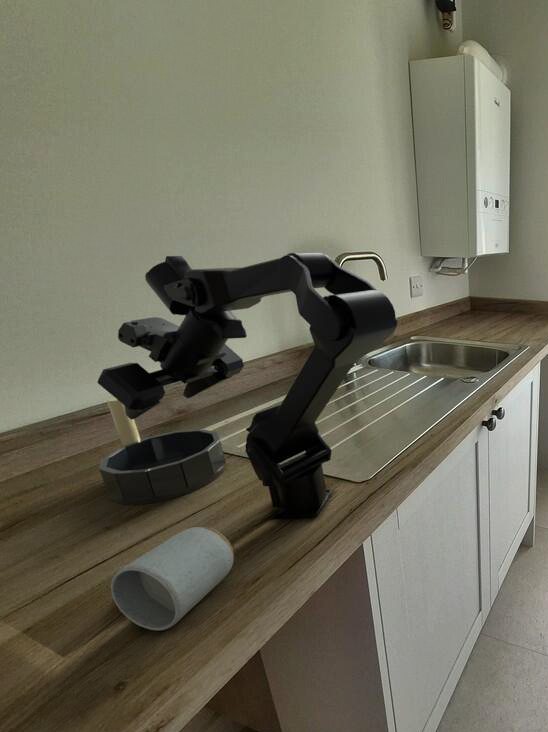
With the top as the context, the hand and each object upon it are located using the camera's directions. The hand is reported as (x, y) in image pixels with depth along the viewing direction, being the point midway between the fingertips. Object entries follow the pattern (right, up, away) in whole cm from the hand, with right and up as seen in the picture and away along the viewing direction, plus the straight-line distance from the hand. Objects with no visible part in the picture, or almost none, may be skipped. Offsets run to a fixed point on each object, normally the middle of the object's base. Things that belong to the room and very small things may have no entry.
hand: (159, 406), depth 65 cm
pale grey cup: (+19, -21, -20) cm, 34 cm away
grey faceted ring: (-1, -12, +3) cm, 12 cm away
